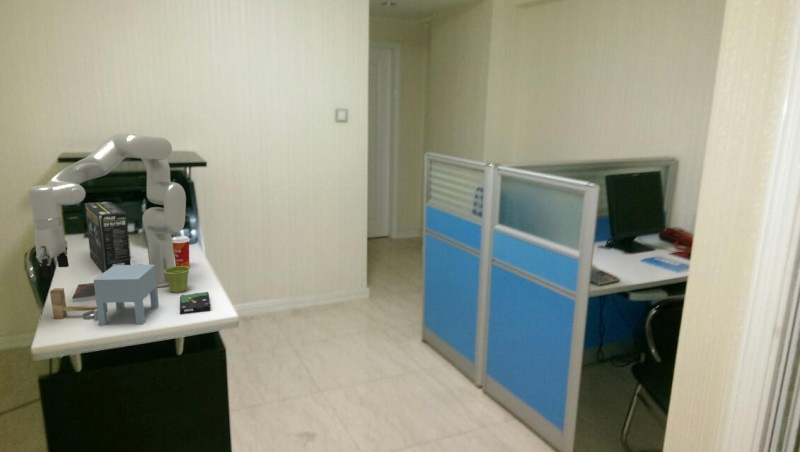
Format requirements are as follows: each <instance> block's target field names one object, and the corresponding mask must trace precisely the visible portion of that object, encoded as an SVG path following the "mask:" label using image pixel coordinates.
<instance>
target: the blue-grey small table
mask: <svg viewBox="0 0 800 452" xmlns="http://www.w3.org/2000/svg"><path fill="white" fill-rule="evenodd" d="M93 283H94V288H95V297H96V300H95V304H96V305H95V306H97V313H98V321H97V322H98V326H107V324H108V312H107V311H106V303H109V304H110V303H112V304H113V303H115V308H116V309H115V310H124V308H125V303H134V313H135V323H136V325H144V323H145V322H146V321H145V320H146V319H145V309H144V299H146V297H148V295H149V298H150V308H151V309H154V310H155V309H158V308H159V307H160V303H159V292H158V287H157V280H156V269H155V265H149V264H131V265H114V266H112V267H111V268H110V269H108V270H107V271H105V272H104V273H103V272H102V273H101V274H100V275H98V276H97V277H95V278H94V279H93ZM151 309H150V310H151Z"/></svg>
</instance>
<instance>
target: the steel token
mask: <svg viewBox="0 0 800 452" xmlns="http://www.w3.org/2000/svg"><path fill="white" fill-rule="evenodd" d="M93 311H94V310H90V311H85V312H84V313H83V314H82V318H83V320H94V313H93Z"/></svg>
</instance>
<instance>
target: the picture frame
mask: <svg viewBox="0 0 800 452" xmlns="http://www.w3.org/2000/svg"><path fill="white" fill-rule="evenodd" d="M72 295H73V296H72V298H71V299H72V300H71V302H72V303H79V302H87V300H88V301H96V297H95V288H94V282H89V283H82V284H81V283H80V284H77V287H76V289H75V292H74V294H72ZM78 301H79V302H78Z"/></svg>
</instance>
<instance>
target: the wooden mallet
mask: <svg viewBox="0 0 800 452" xmlns="http://www.w3.org/2000/svg"><path fill="white" fill-rule="evenodd" d="M49 296H50V303H51V308H52V309H51V310H52V315H53V316H52V317H53V318H52V319H54V320H63V319H65V318H66V317H67V316H68V312H74V311H75V312H79V311H80V312H84V311H85V312H88V311H93V313H94V319H93V320H94V321H93V322H98V313H97V305H84V306H83V305H82V306H78V305H77V306H67V303H66V294H65V288H63V287H55V288H52V289H51V290H50V291H49ZM106 311H107V313H108V304H107V303H106ZM55 318H56V319H55ZM60 318H61V319H60ZM62 318H63V319H62Z"/></svg>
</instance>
